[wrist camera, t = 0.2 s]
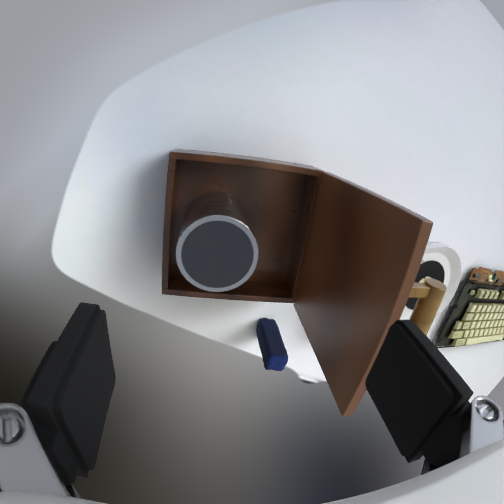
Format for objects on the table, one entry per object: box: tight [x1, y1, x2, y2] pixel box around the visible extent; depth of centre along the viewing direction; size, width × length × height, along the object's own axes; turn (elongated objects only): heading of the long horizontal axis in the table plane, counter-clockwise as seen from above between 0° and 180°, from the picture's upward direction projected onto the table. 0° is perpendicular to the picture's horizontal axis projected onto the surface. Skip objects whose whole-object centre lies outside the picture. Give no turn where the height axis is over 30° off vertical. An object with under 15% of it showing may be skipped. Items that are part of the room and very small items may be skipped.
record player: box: [400, 243, 461, 320], centre depth 35 cm, size 12×3×20 cm
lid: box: [294, 172, 447, 416], centre depth 22 cm, size 14×13×5 cm
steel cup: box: [176, 192, 259, 292], centre depth 26 cm, size 6×6×8 cm
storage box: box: [162, 149, 324, 303], centre depth 29 cm, size 13×13×4 cm
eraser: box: [256, 318, 288, 371], centre depth 32 cm, size 2×2×7 cm
